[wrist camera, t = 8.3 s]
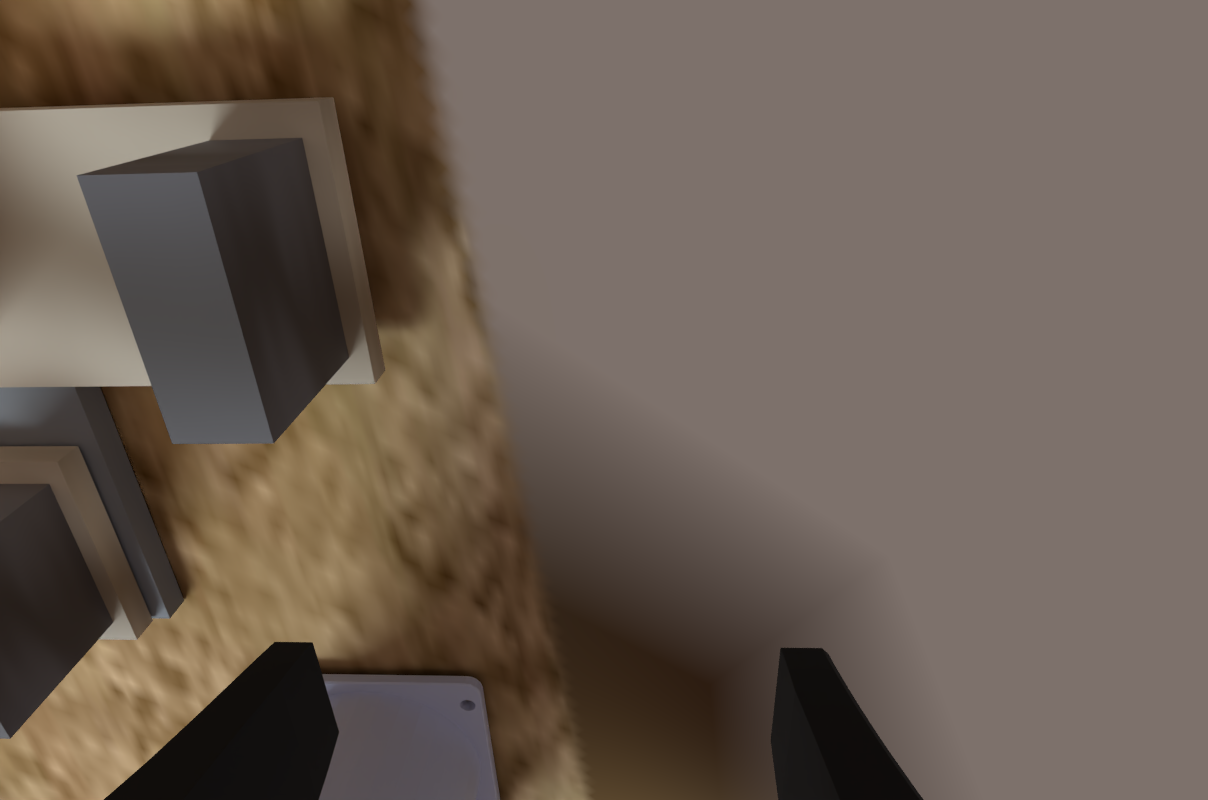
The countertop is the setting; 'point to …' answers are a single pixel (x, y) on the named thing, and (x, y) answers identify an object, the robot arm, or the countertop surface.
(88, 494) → the far strip
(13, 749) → the countertop surface
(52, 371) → the near strip
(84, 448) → the lane board
